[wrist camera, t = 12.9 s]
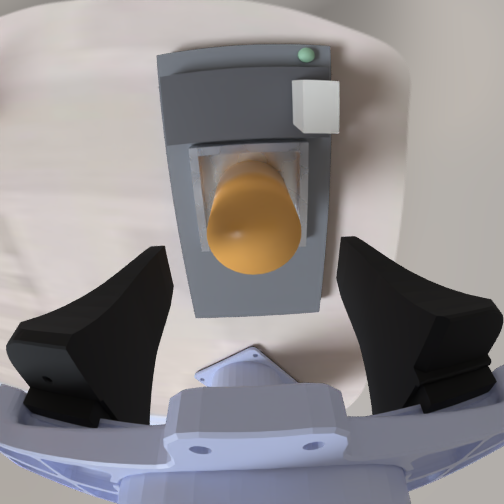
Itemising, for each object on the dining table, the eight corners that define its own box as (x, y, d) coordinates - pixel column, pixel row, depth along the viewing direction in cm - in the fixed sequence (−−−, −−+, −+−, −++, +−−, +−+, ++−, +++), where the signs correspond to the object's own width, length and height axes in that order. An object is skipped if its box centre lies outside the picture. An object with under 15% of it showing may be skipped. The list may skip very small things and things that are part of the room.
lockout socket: (303, 239, 21) (306, 246, 20) (203, 243, 21) (201, 251, 20) (305, 139, 17) (308, 142, 16) (191, 145, 17) (188, 148, 17)
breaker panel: (315, 300, 26) (322, 324, 23) (197, 306, 26) (193, 331, 23) (323, 48, 16) (337, 43, 13) (162, 57, 16) (149, 53, 13)
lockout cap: (299, 201, 19) (318, 243, 15) (243, 238, 21) (244, 288, 16) (259, 146, 17) (266, 170, 13) (201, 188, 19) (187, 226, 14)
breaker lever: (322, 124, 15) (339, 133, 12) (292, 123, 15) (303, 133, 12) (321, 81, 14) (339, 81, 11) (291, 80, 14) (302, 79, 11)
